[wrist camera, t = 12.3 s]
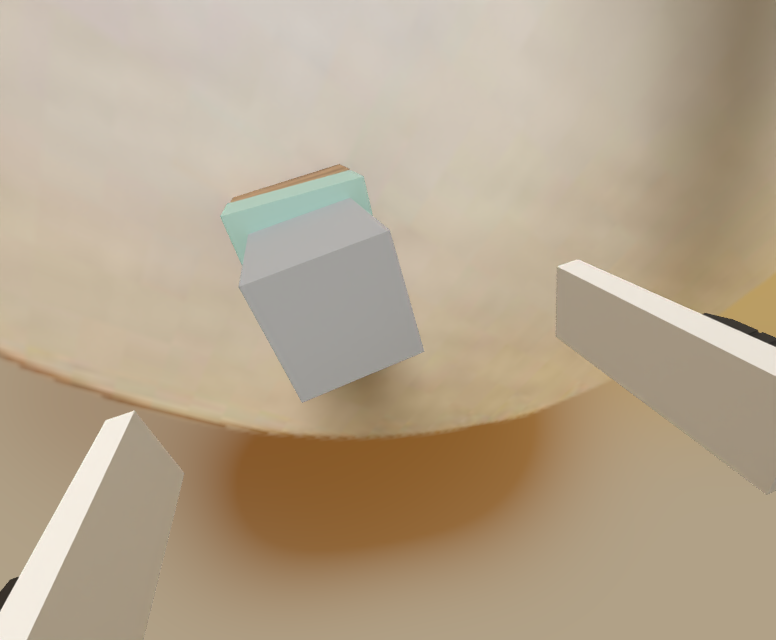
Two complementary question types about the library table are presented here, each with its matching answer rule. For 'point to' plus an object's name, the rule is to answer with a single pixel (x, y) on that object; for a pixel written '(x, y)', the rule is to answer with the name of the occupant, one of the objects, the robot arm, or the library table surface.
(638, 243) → the library table surface
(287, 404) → the library table surface
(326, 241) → the grey block
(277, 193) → the tower top block
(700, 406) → the robot arm
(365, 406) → the library table surface
